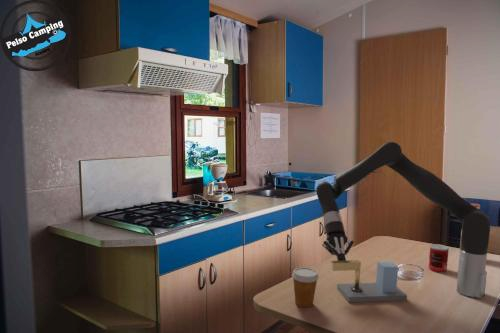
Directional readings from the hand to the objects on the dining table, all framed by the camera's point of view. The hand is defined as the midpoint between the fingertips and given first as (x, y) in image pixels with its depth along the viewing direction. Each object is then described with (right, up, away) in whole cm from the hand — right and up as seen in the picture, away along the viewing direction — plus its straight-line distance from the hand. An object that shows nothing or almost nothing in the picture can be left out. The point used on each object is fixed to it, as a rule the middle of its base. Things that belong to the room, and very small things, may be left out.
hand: (342, 264), depth 151 cm
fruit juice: (+75, -9, +46) cm, 89 cm away
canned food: (+51, -10, +30) cm, 60 cm away
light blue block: (+17, -10, +2) cm, 20 cm away
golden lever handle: (+1, -9, -1) cm, 9 cm away
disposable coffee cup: (-16, -13, -8) cm, 22 cm away
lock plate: (+11, -12, +1) cm, 17 cm away
